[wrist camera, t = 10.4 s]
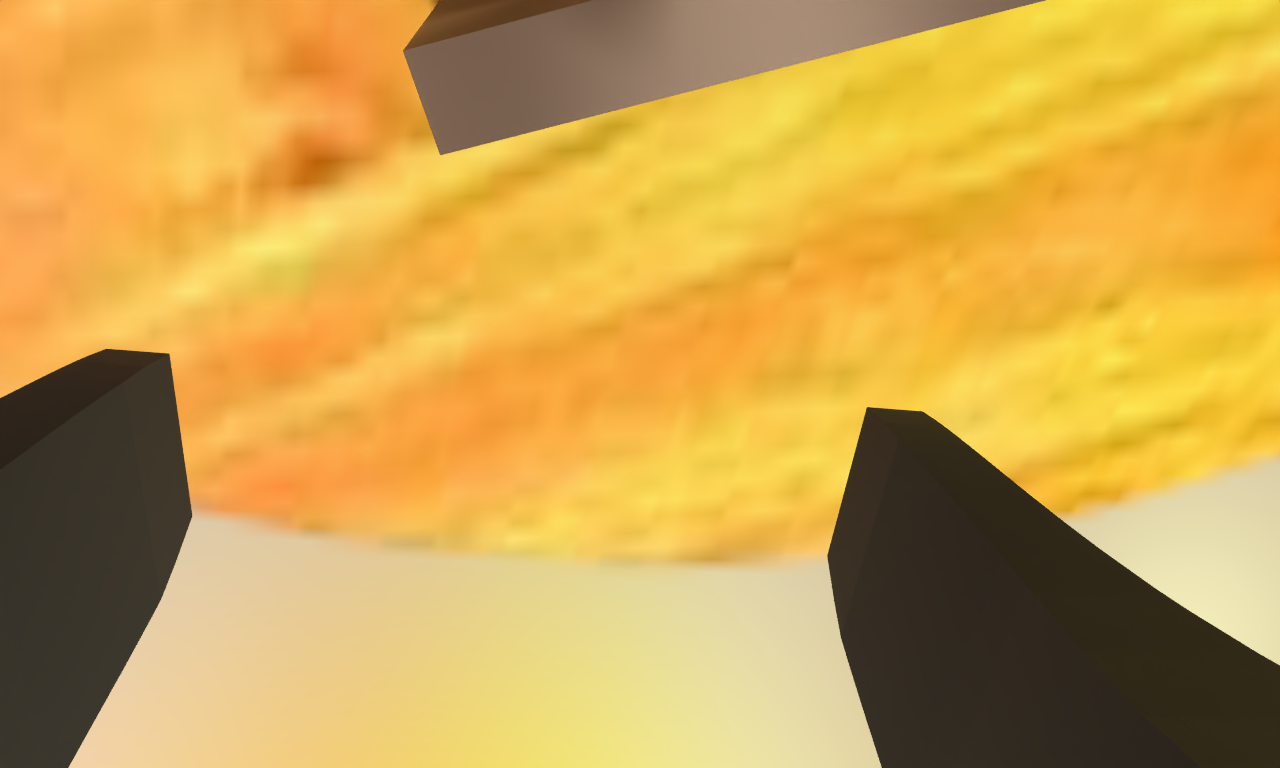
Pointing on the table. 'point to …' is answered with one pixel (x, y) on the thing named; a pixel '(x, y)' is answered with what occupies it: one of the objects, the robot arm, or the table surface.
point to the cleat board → (629, 52)
